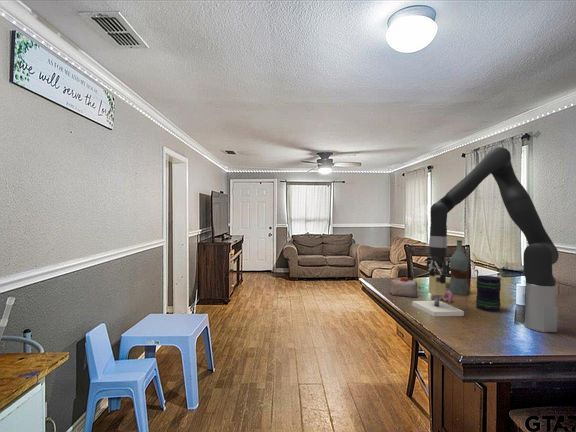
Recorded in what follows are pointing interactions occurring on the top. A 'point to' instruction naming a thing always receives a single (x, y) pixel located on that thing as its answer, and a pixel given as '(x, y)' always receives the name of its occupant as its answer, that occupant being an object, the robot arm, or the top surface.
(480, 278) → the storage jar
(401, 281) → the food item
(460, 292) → the bottle
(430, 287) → the gold rectangular block
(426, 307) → the base board
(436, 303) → the metal post
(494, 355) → the top surface
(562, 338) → the top surface
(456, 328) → the top surface
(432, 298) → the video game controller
